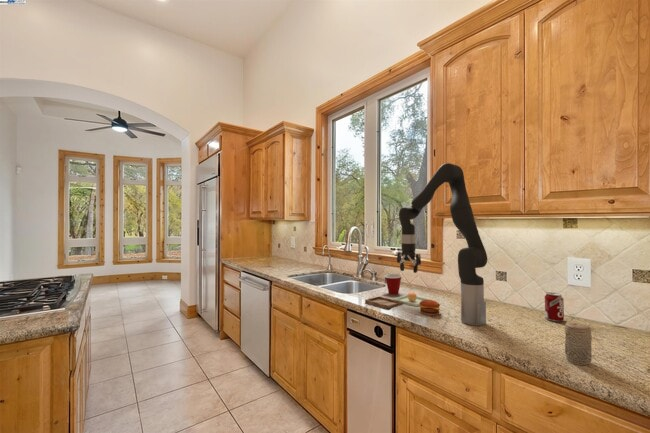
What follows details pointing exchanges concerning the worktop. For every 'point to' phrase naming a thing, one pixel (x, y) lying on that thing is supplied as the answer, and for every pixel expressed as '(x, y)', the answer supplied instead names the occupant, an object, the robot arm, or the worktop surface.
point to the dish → (408, 302)
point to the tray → (383, 302)
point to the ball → (412, 296)
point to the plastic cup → (393, 283)
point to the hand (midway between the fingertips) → (408, 271)
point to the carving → (578, 343)
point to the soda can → (554, 307)
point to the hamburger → (429, 307)
